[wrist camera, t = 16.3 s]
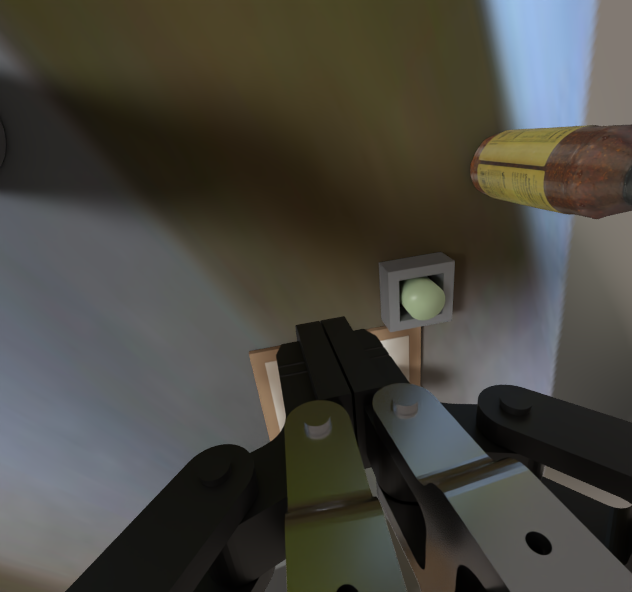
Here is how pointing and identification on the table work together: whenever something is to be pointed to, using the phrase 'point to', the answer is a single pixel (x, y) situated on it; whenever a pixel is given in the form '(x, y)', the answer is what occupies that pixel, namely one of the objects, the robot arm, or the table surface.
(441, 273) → the button housing
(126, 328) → the table surface
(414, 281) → the button
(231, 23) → the table surface
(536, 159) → the sauce bottle
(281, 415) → the clipboard
